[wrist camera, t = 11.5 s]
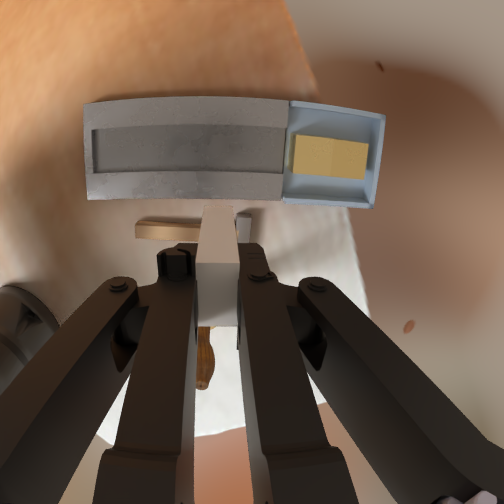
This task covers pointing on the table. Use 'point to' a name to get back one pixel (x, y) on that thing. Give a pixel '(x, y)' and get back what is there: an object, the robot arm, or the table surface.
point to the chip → (349, 159)
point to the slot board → (185, 148)
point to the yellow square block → (310, 154)
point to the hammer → (188, 230)
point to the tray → (337, 126)
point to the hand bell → (204, 358)
